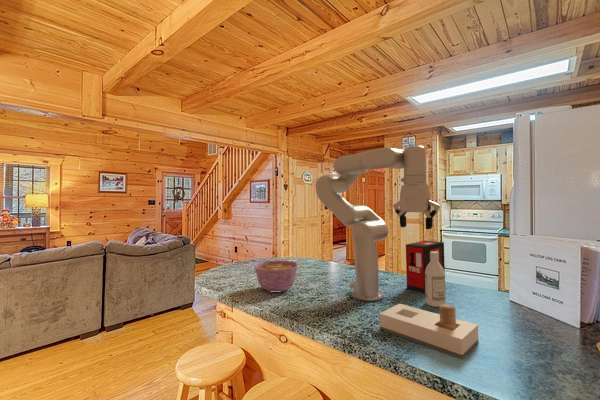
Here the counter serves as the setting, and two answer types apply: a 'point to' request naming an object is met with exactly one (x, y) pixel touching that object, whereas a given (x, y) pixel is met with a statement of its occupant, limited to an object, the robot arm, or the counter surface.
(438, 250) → the cleaning product box
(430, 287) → the bath foam
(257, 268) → the bowl of food
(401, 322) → the hole block
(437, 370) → the counter surface
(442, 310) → the oak pin
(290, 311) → the counter surface
